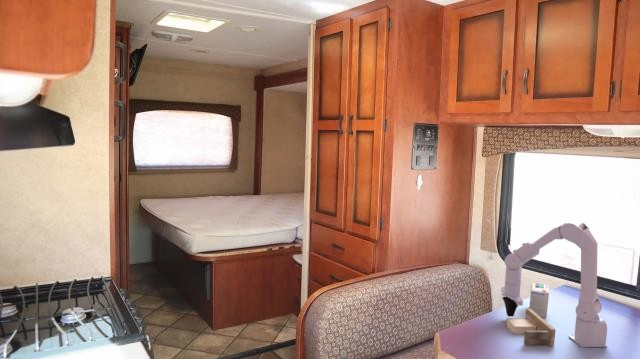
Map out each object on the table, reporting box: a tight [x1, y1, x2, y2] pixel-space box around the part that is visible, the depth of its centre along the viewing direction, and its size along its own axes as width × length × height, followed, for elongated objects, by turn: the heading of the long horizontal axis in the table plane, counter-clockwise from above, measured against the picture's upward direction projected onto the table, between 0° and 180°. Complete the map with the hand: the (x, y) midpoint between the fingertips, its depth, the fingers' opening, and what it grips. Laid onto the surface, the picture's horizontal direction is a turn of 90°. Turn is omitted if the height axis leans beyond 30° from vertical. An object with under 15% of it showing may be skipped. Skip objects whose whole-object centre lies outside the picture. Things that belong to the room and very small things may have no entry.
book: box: [505, 318, 536, 335], centre depth 174 cm, size 8×7×3 cm
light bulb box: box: [528, 282, 550, 319], centre depth 190 cm, size 11×7×11 cm, turn 154°
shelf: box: [523, 308, 556, 347], centre depth 170 cm, size 10×18×6 cm, turn 2°
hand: (510, 315), depth 183 cm, fingers closed
